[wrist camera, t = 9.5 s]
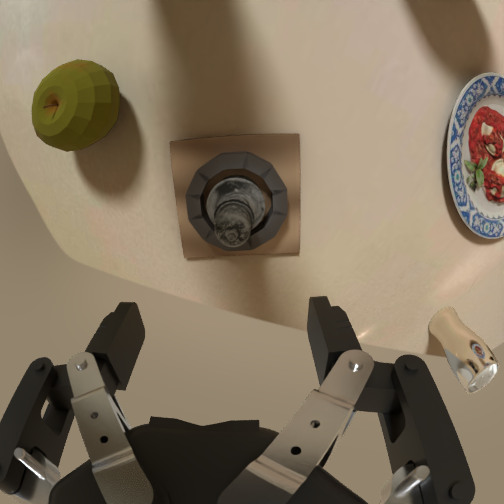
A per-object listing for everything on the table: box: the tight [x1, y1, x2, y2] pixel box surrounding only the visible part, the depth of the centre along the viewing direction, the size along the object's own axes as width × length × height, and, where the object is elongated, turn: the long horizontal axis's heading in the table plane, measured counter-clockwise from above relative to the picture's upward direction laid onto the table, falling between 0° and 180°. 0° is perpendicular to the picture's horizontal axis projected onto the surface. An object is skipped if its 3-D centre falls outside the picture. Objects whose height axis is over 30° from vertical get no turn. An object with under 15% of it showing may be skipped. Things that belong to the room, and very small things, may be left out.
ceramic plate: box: [447, 72, 504, 239], centre depth 28 cm, size 26×26×3 cm
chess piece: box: [206, 174, 265, 247], centre depth 27 cm, size 6×6×12 cm
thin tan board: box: [170, 134, 300, 258], centre depth 31 cm, size 14×14×3 cm
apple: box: [32, 60, 120, 152], centre depth 23 cm, size 10×10×11 cm
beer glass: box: [429, 307, 500, 394], centre depth 35 cm, size 7×7×15 cm
